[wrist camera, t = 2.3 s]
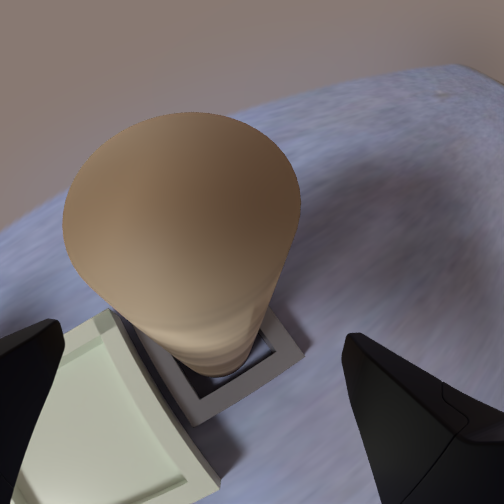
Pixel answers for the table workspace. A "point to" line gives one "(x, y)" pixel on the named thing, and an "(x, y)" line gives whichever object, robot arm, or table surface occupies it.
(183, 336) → the dowel
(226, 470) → the table surface
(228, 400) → the holder
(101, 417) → the tray
